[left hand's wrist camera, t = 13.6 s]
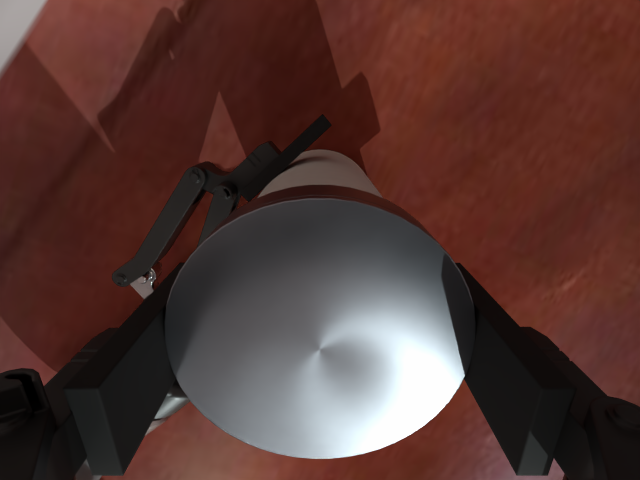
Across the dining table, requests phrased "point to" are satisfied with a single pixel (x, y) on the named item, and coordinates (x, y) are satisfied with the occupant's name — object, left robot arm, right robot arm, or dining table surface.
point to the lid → (320, 323)
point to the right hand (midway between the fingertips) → (376, 179)
